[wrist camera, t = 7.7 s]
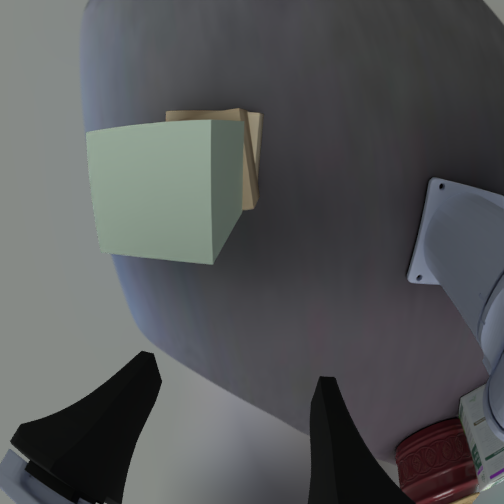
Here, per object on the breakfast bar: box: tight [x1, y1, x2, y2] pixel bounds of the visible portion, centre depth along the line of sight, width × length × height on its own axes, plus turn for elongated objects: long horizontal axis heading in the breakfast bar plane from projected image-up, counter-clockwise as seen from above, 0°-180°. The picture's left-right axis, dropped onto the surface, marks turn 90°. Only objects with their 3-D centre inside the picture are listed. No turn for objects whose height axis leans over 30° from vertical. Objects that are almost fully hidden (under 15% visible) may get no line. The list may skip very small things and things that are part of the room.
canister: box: [395, 419, 480, 504], centre depth 22 cm, size 13×13×18 cm
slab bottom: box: [166, 110, 264, 182], centre depth 17 cm, size 6×6×2 cm
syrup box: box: [459, 384, 504, 492], centre depth 18 cm, size 6×6×14 cm
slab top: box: [177, 108, 260, 210], centre depth 14 cm, size 5×5×2 cm
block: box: [86, 120, 244, 265], centre depth 11 cm, size 4×4×6 cm
